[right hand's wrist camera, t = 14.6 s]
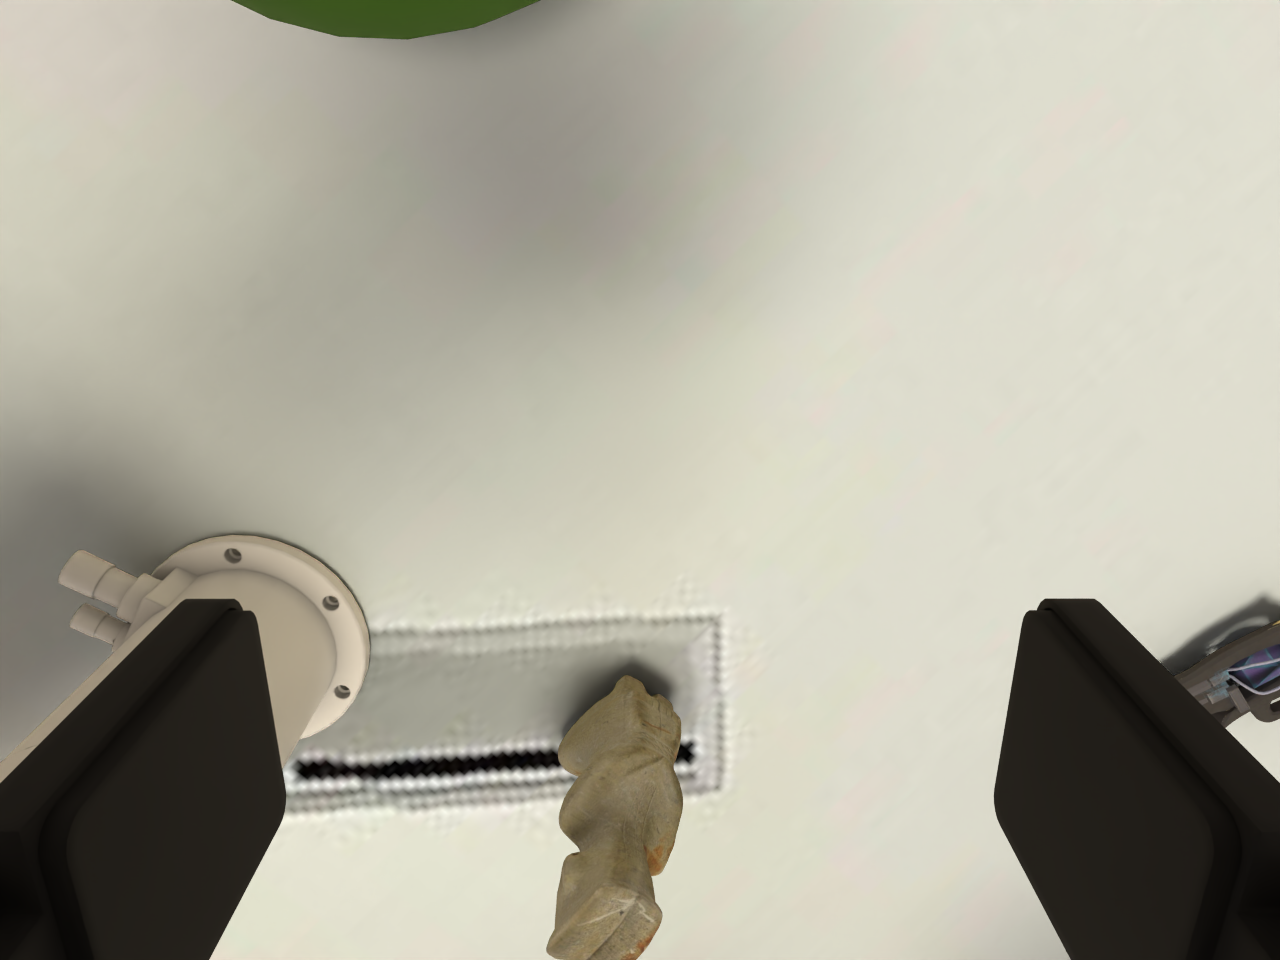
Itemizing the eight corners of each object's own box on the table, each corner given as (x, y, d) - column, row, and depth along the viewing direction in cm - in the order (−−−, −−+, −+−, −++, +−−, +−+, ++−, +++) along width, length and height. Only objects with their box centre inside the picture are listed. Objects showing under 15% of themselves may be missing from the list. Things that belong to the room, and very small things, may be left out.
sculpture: (541, 730, 52) (505, 948, 38) (622, 646, 50) (615, 843, 36) (619, 784, 53) (612, 1013, 39) (701, 704, 52) (724, 916, 37)
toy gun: (1460, 700, 49) (1409, 577, 45) (1124, 850, 54) (1052, 751, 50) (1421, 667, 51) (1369, 547, 47) (1102, 813, 56) (1033, 717, 52)
